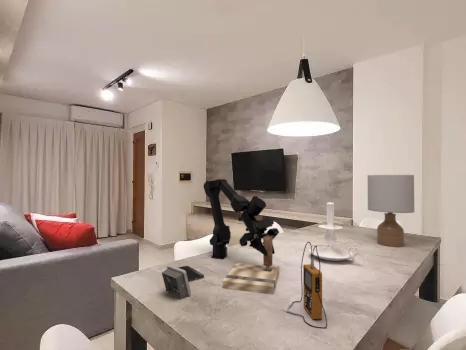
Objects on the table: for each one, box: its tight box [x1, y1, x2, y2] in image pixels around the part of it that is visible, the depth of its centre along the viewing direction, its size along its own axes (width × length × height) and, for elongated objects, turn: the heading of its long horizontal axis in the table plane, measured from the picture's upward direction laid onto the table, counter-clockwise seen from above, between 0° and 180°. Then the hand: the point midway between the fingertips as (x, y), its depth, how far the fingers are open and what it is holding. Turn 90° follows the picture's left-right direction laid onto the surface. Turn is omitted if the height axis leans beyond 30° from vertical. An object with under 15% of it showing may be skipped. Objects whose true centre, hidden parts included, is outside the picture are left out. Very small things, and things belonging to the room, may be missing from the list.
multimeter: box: [281, 241, 328, 329], centre depth 73 cm, size 15×10×20 cm
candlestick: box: [308, 201, 359, 262], centre depth 123 cm, size 21×25×28 cm
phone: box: [177, 265, 205, 283], centre depth 103 cm, size 8×1×15 cm
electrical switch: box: [161, 264, 192, 300], centre depth 84 cm, size 9×5×9 cm, turn 51°
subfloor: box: [222, 262, 280, 295], centre depth 97 cm, size 18×20×2 cm
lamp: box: [367, 174, 415, 248], centre depth 154 cm, size 24×24×42 cm
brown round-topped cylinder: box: [262, 236, 274, 272], centre depth 101 cm, size 4×4×14 cm
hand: (270, 254), depth 100 cm, fingers closed on brown round-topped cylinder, 4 cm apart
